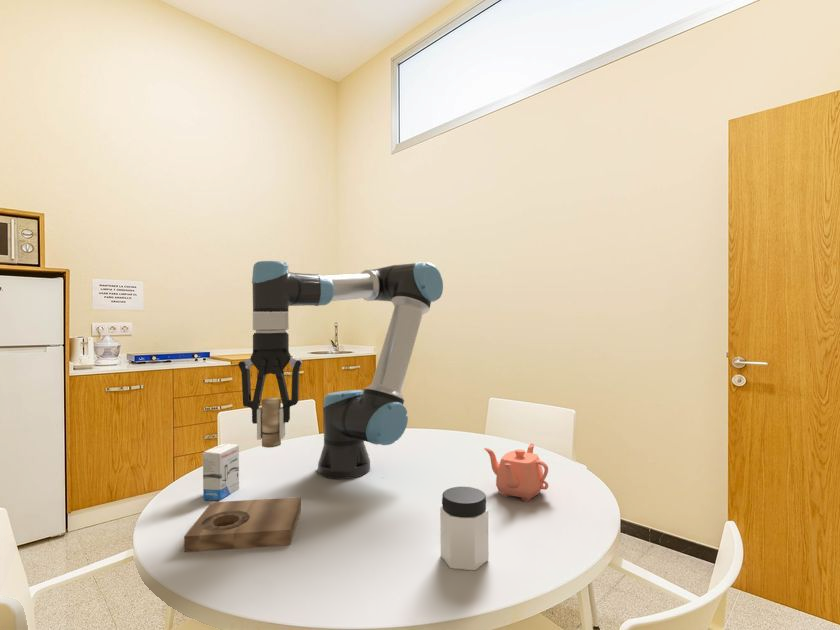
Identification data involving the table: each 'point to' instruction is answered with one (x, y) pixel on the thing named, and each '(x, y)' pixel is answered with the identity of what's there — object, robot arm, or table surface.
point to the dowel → (271, 422)
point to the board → (244, 524)
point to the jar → (464, 528)
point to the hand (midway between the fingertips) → (271, 437)
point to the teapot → (519, 473)
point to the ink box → (220, 471)
